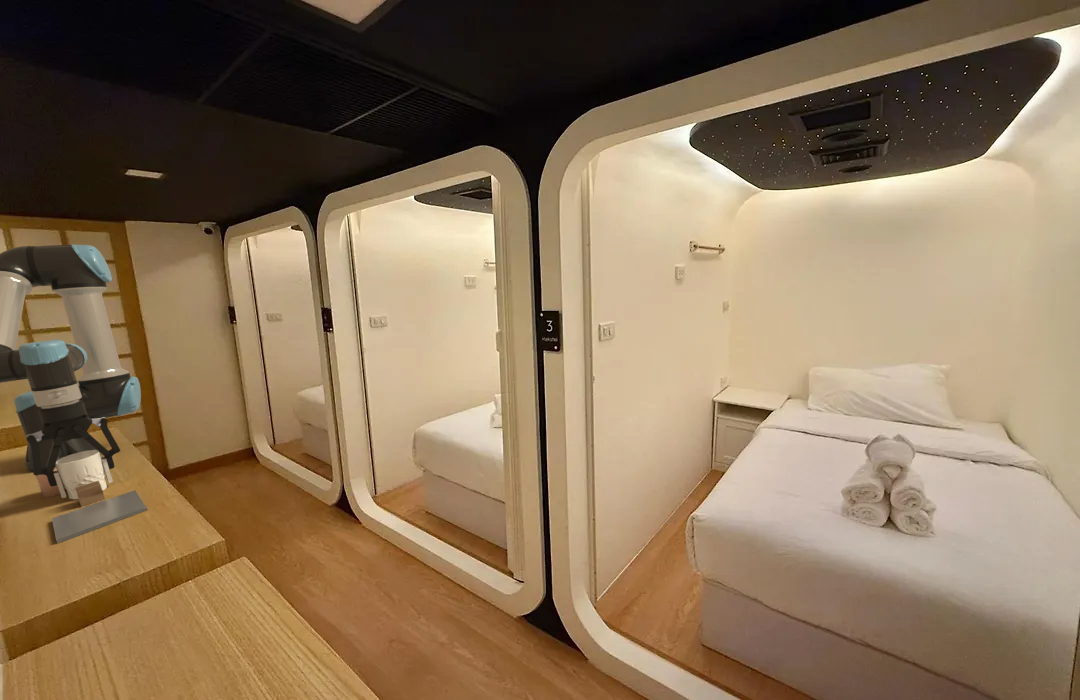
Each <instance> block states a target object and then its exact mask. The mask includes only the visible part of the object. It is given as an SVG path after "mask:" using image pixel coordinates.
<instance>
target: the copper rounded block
mask: <svg viewBox="0 0 1080 700" xmlns="http://www.w3.org/2000/svg"><path fill="white" fill-rule="evenodd" d="M56 470H57V469H56V467H55V468H54V471H56ZM35 477H36V480H37V483H38V487H39V488H40V489H39V490H40V491H41V495H42V497H43V498H49V497H50V498H51V497H54V496H58V495H61V494H60V491H59V488H58V485H56V486H53V487H51V486H50V484H49V481H48V478H47V476H46V475H37V476H36V475H35ZM61 482H62V481H61ZM62 485H63V483H62ZM63 488H64V491H65V493H66V492H67V490H66V489H65V487H64V485H63Z"/></svg>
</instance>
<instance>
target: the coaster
mask: <svg viewBox="0 0 1080 700" xmlns="http://www.w3.org/2000/svg"><path fill="white" fill-rule="evenodd" d="M146 511H148V508H147V506H146V504H145V503H144V501H143V500H142V498H141V497H140V495H139V493H137V491H136V490H135V489H134V490H131V491H129V492H126V493H122V494H120V495H116V496H113V497H111V498H108V499H104V500H101V501H98V502H95V503H92V504H89V505H86V506H84V507H81V508H78V509H75V510H72V511H69V512H67V513H63V514H61V515H57V516H55V517H52V518H51V521H52V522H51V523H52V526H53V531H54V535H55V540H56V543H57V544H60V543H63V542H65V541H68V540H71V539H74V538H77V537H80V536H82V535H84V534H87V533H89V532H92V531H94V530H98V529H101V528H103V527H106V526H108V525H111V524H114V523H116V522H118V521H122V520H124V519H127V518H130V517H132V516H133V517H134V516H135V515H138V514H141V513H143V512H146Z"/></svg>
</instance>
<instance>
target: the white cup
mask: <svg viewBox="0 0 1080 700" xmlns="http://www.w3.org/2000/svg"><path fill="white" fill-rule="evenodd" d="M101 455H102V454H101V453H100V452H99V451H98V450H88V451H83V452H79V453H75V454H71V455H68V456H65V457H63V458H60V459H58V460H57V461H56V464H55V466H56V469H57V471H58V473H59V476H60V479H61V481H62V483H63V485H64V487H65V489H66V490H67V491H66V492H67V494H68V498H69V500H79V498H78V495H77V492H76V489H75V488H76V487H79V486H82V485H85V484H89V483H92V482H95V481H99V483H100V485H101V488H102V491H103V492H104V491H105V490H106V489H107V488H108V486H107V485H108V484H107V481H106V480H107V479H106V474H105V470H104V467H103V463H102V459H101V458H102V456H101Z"/></svg>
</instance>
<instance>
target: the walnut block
mask: <svg viewBox="0 0 1080 700" xmlns="http://www.w3.org/2000/svg"><path fill="white" fill-rule="evenodd" d="M75 489H76V492H77V495H78V498H79V499H78V501H79V504H80V506H81V508H84V507H87V506H90V505H93V504H95V503H98V502H101V501H104V500H106V498H105V495H104V490H103V491H102V488H101V485H100V483H99V481H95V482H92V483H89V484H85V485H82V486H79V487H76V488H75Z"/></svg>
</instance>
